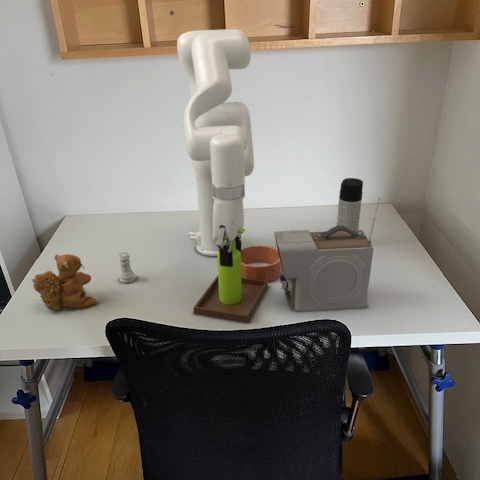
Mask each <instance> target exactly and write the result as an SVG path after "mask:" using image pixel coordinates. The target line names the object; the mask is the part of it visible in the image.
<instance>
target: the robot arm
mask: <svg viewBox="0 0 480 480" xmlns="http://www.w3.org/2000/svg"><path fill="white" fill-rule="evenodd" d="M176 50H177V56H178V61H179V64H180V67H181V71H182V73H183V75H184V77H185V79H186V82H187V84H188V87H189V93H190V99H189V101H188V103H187V104H186V106H185V110H184V112H183V118H182V119H183V120H182V125H183V127H182V128H183V134H184V142H185V148H186V152H187V156H188V157H189V158H190V159H191V162H192V163H191V164H192V168H193V173H194V178H195V183H196V192H197V193H196V195H197V205H198V207H197V209H198V221H199V223H198V224H199V231H193V230H189V232H188V237H189V241H196V244H195V249H196V251H197V252H198V253H199V254H201V255H203V256H207V257H217V253H218V252H219V255H220V265H221V266H226V267H232V266H233V252H231V245H232V241H233V240H234V239H235V242H236V250H239V251H240V252H241V254H242V250H241V249H242V234H241V233H238V230H239V229H240V228H243V229H244V225H245V220H244V219H245V215H244V214H245V213H244V199H245V197H246V188H245V187H246V184H245V183H246V182H245V181H246V179H245V177H248V176H250V175H252V174H253V172H254V168H255V156H254V144H253V134H252V122H251V116H250V111H249V109H248V107H247V105H246V104H244V103H243V102H240V101H229V102H228V101H227V100H228V99H229V98H230V97H231V95H232V92H233V86H232V85H233V84H232V79H231V73H230V70H244V69H247V68H248V67H249V65H250V63H251V58H252V57H251V55H252V51H251V45H250V40H249V38H248V37H247V35H246V33H245V32H244V31H242V30H240V29H237V28H233V29H231V28H229V29H226V28H225V29H203V30H202V29H199V30H191V31H185V32H184V33H182V34H180V35H179V37H178V38H177V41H176ZM225 237H227V238H229V240H228V239H225ZM224 242H228V247H227V246H226V245H224Z"/></svg>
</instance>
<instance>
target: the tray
mask: <svg viewBox="0 0 480 480" xmlns="http://www.w3.org/2000/svg"><path fill="white" fill-rule="evenodd" d="M268 288H269V282H268V281H265V280H258V279H251V278H244V277H241V295H242V299H241V301H240V302H238V303H236V304H224V303H222V302H221V301H220V300H219V283H218V275H216V277H215V278H214V280H213V281H212V282H211V284H209V286H208V287H207V289H206V290H205V292H204V293H203V294H202V295H201V296H200V298H199V299H198V301H197V302H196V303H195V304H194V306H193V315H198V316H205V317H211V318H215V319H216V318H217V319H221V320H229V321H233V322H238V323H239V322H241V323H245V324H248V322H250V319H251V318H252V316H253V314H254V312H255V311H256V308H257V307H258V305H259V304H260V302H261V300H262V298H263V297H264V295H265V293H266V291H267V290H268Z"/></svg>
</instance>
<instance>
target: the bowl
mask: <svg viewBox="0 0 480 480" xmlns="http://www.w3.org/2000/svg"><path fill="white" fill-rule="evenodd" d="M241 250H242V254H241V277H244V278H251V279H258V280H265V281H268V283H269V282H274V281H275V280H277V279H278V278H280V273H283V270H282V266H281V263H280V258H279V254H278V249H277V247H276V248H275V247H273V246H270V245H261V244H255V245H248V246H245V247H241ZM255 262H257V263H258V262H262V263H268V264H265V265H253V264H252V265H251V264H250V263H255Z"/></svg>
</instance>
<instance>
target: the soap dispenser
mask: <svg viewBox="0 0 480 480" xmlns="http://www.w3.org/2000/svg"><path fill="white" fill-rule="evenodd" d="M245 231H246V229H245V228H244V227H243V228H240V229H239V230H238V233H241V235H242V234H244V233H245ZM225 239H228V240H229V238H227V237H225ZM224 245H226V246H227V247H228V242H224ZM231 252H233V266H232V267H226V266H221V265H220V255H219V252H218V253H217V256H216V258H217V259H216V260H217V276H218V283H219V300H220V301H221V302H222V303H224V304H236V303H238V302H240V301H241V299H242V295H241V252H240V251H239V250H236V242H235V239H234V240H233V241H232V245H231Z"/></svg>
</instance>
